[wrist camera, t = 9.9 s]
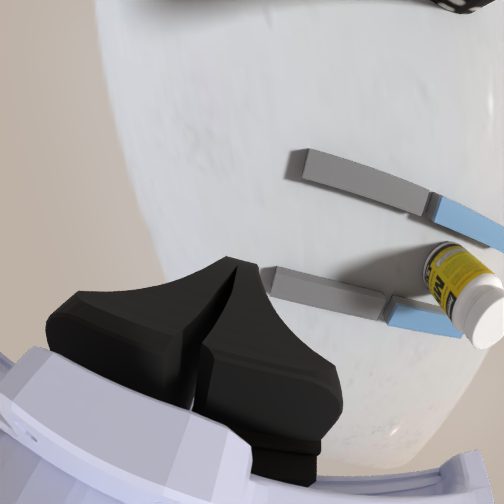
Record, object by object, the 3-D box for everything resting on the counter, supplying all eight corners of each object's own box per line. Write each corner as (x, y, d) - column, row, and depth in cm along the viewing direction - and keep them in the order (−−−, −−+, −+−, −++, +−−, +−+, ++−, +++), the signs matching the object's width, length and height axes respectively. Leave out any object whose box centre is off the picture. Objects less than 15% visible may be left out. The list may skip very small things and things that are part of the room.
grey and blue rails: (454, 328, 21) (460, 338, 20) (270, 288, 22) (269, 298, 21) (502, 226, 17) (512, 232, 16) (308, 148, 18) (310, 148, 16)
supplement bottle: (413, 259, 20) (462, 320, 12) (457, 230, 18) (518, 276, 10) (430, 301, 21) (470, 365, 13) (470, 273, 19) (520, 327, 12)
